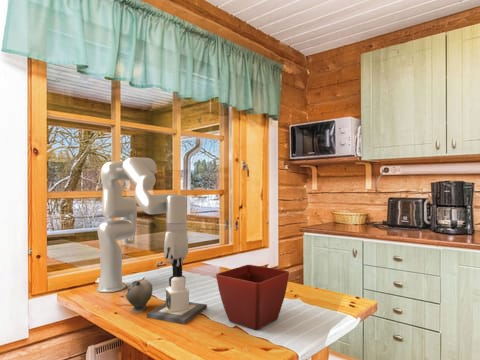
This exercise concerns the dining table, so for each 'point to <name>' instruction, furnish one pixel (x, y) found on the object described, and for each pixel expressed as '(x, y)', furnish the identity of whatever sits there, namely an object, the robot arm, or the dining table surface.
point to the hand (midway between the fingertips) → (177, 276)
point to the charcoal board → (177, 313)
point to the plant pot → (252, 294)
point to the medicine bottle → (177, 294)
